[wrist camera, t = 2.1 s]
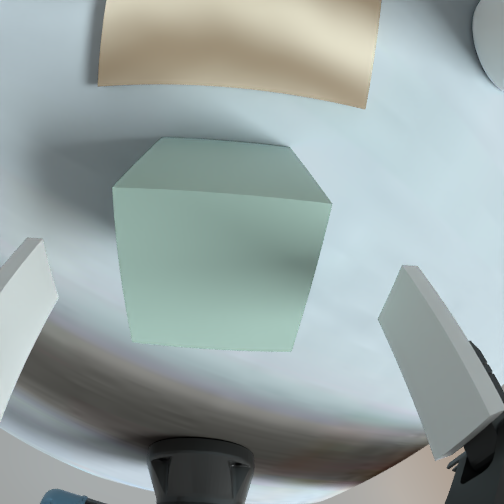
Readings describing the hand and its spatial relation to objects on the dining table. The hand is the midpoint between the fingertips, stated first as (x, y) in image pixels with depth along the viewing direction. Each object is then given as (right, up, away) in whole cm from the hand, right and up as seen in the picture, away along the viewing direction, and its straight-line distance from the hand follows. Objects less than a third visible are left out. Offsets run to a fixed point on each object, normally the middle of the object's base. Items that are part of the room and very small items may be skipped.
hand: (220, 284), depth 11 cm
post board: (+1, +16, 0) cm, 16 cm away
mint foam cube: (-1, +4, +7) cm, 9 cm away
